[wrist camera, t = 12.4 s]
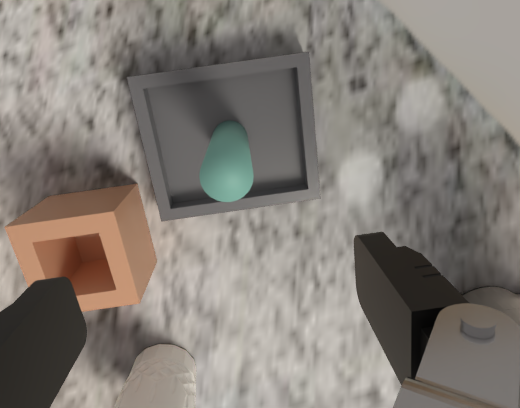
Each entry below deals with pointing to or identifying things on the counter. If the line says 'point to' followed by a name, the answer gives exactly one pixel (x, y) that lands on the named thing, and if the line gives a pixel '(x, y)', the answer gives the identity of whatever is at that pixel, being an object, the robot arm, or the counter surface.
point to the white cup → (160, 379)
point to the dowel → (227, 163)
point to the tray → (224, 109)
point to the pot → (88, 245)
